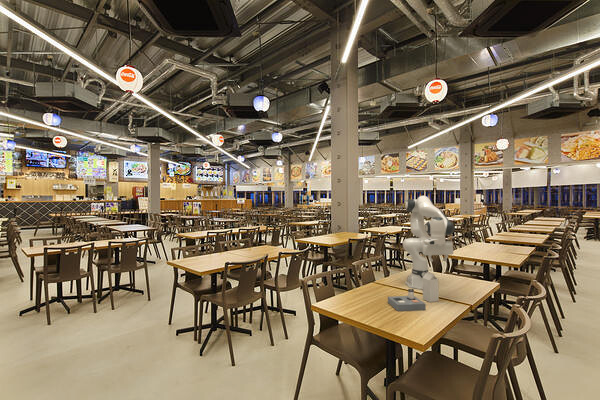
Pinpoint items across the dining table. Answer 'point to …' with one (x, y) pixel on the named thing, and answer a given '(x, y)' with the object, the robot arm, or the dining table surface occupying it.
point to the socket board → (406, 303)
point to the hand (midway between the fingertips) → (438, 261)
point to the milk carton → (430, 287)
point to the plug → (410, 294)
